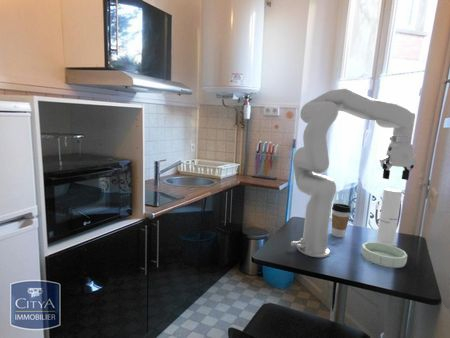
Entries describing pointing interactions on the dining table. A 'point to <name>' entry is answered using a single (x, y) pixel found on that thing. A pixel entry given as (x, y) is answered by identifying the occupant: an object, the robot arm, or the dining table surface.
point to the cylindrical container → (389, 216)
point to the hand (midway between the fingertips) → (395, 179)
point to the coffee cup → (340, 219)
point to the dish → (384, 254)
